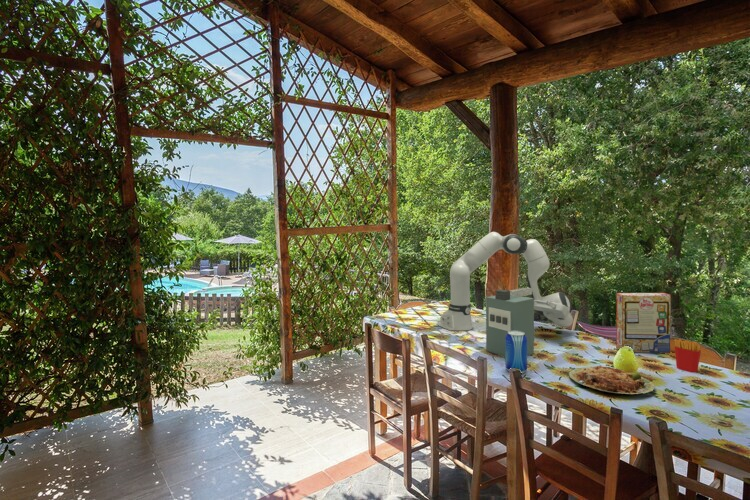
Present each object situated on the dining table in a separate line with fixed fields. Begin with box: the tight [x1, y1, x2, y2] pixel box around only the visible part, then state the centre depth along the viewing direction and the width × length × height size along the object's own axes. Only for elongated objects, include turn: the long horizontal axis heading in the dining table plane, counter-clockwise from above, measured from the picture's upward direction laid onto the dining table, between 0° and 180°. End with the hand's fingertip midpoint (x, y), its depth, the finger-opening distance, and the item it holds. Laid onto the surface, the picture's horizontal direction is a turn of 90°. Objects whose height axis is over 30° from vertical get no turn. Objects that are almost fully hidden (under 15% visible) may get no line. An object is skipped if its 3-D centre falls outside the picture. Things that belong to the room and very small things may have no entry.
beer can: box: [504, 331, 528, 375], centre depth 157 cm, size 8×8×16 cm
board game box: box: [615, 292, 672, 354], centre depth 177 cm, size 20×6×27 cm, turn 80°
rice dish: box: [568, 365, 656, 395], centre depth 144 cm, size 28×28×5 cm
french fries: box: [673, 338, 702, 374], centre depth 154 cm, size 8×4×12 cm, turn 33°
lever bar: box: [494, 287, 532, 301], centre depth 181 cm, size 5×22×4 cm, turn 124°
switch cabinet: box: [485, 295, 535, 358], centre depth 179 cm, size 16×16×26 cm
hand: (538, 300), depth 192 cm, fingers open, 8 cm apart
